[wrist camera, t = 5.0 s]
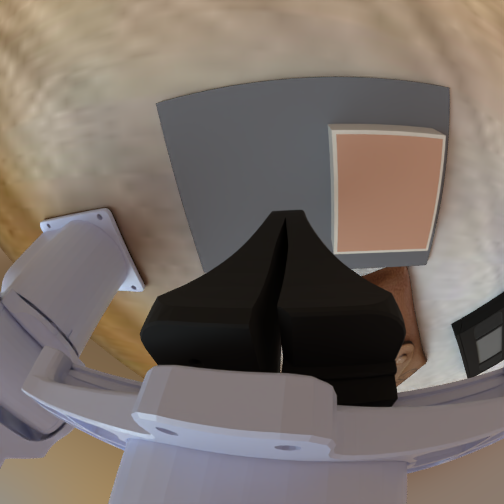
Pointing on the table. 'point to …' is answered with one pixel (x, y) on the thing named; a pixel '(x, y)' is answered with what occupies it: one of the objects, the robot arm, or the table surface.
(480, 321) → the vhs tape
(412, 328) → the sunglasses case
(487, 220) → the table surface
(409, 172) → the tile
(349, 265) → the mat
